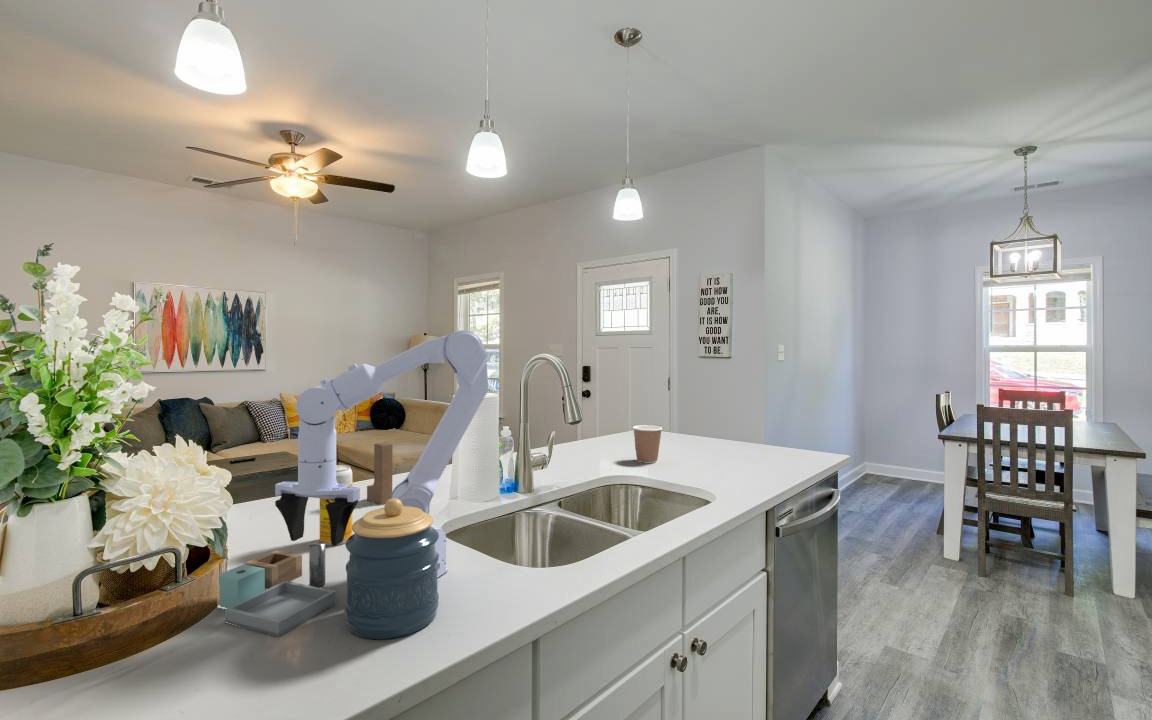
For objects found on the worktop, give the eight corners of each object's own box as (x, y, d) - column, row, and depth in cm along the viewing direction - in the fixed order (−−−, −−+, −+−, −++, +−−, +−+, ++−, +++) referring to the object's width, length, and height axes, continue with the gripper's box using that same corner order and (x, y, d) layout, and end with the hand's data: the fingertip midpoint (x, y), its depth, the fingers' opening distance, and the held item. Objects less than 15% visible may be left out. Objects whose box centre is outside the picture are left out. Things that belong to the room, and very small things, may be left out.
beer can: (316, 547, 106) (316, 472, 105) (322, 537, 112) (322, 465, 111) (350, 545, 107) (350, 470, 107) (354, 534, 113) (354, 463, 113)
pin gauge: (328, 583, 90) (328, 542, 90) (317, 589, 88) (317, 547, 88) (317, 581, 91) (317, 540, 91) (306, 587, 89) (305, 545, 88)
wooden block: (392, 502, 137) (392, 443, 137) (381, 504, 134) (381, 445, 134) (378, 497, 141) (378, 440, 141) (366, 500, 138) (366, 442, 138)
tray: (335, 603, 83) (335, 591, 83) (278, 637, 73) (278, 622, 73) (285, 592, 87) (285, 580, 87) (225, 623, 77) (225, 609, 77)
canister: (331, 616, 79) (331, 497, 79) (412, 589, 88) (413, 482, 88) (368, 653, 70) (369, 518, 70) (455, 618, 79) (456, 499, 79)
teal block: (264, 600, 84) (264, 568, 84) (237, 613, 80) (237, 579, 80) (243, 595, 86) (243, 563, 86) (216, 607, 82) (216, 574, 81)
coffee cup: (646, 457, 197) (646, 424, 197) (667, 461, 189) (668, 427, 189) (626, 460, 191) (626, 426, 190) (647, 465, 183) (648, 430, 183)
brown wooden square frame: (301, 575, 93) (302, 554, 93) (271, 590, 87) (271, 568, 87) (276, 570, 95) (276, 550, 95) (244, 584, 90) (244, 562, 89)
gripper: (371, 457, 91) (370, 536, 92) (296, 452, 94) (296, 529, 95) (344, 466, 84) (344, 551, 85) (265, 460, 87) (265, 543, 88)
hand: (317, 541), depth 89 cm, fingers open, 7 cm apart
